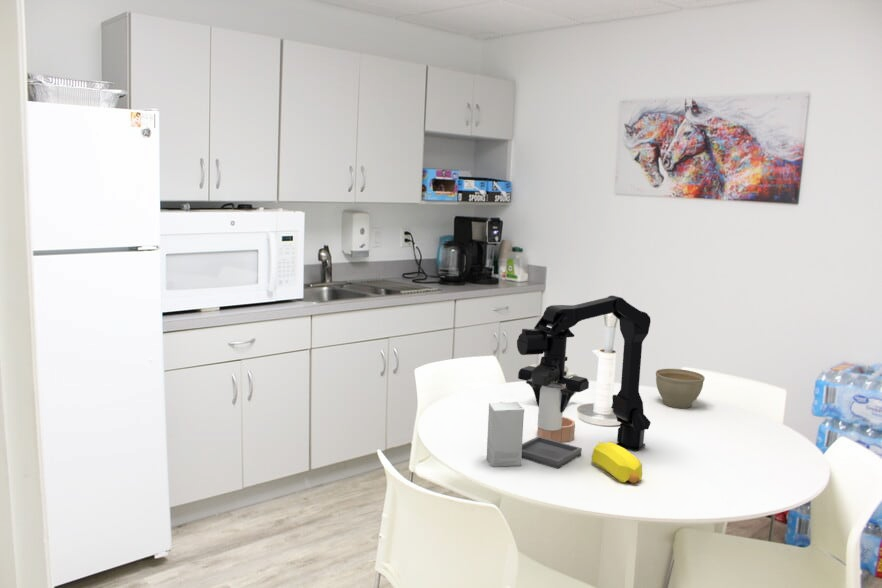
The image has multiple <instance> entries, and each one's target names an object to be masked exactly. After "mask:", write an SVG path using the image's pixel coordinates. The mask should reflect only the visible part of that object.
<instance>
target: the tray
mask: <svg viewBox="0 0 882 588" xmlns="http://www.w3.org/2000/svg"><path fill="white" fill-rule="evenodd" d="M580 456H582V447H578V446H574V445H572V444H568V443H565V442H557V441H554V440H550V439H546V438H543V437H539V436H536V437H534V438H532V439H530V440H528V441H527V440H526V442H524V443H523V442H522V458H521V459H524V460H528V461H530V462H533V463H537V464H540V465H544V466H548V467H550V468H553V469H560V468H561V467H563V466H565V465H566V464H567V465H568V463H570V462H572V461H574V460H575V459H577V458H579V457H580Z"/></svg>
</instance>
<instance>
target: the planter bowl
mask: <svg viewBox="0 0 882 588" xmlns="http://www.w3.org/2000/svg"><path fill="white" fill-rule="evenodd" d="M655 376H656V377H655V383H656V388H657V390H658V394H659V395H660V397H661V398H662V402H663V404H665V405H666V406H668V407H672V408H679V409H685V408H686V409H687V408H691V407H692V405H693V403H694V402H695V401H697V398H698V397H699V395H700V394H701V393H702V390H703V386H704V381H705V376H704V375H703V374H701V373H699V372H697V371H694V370H689V369H682V368H661V369H657V370H656V371H655Z"/></svg>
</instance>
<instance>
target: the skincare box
mask: <svg viewBox="0 0 882 588" xmlns="http://www.w3.org/2000/svg"><path fill="white" fill-rule="evenodd" d="M524 414H525V409H524V408H523V406H521V404H520V403H518V402H517V401H516V402H515V401H513V402H510V401H509V402H488V421H487V438H486V439H487V442H486V459H487V461H488V463H489V462H490V463H489V464H490V465H492V466H495V467H515V466H517V467H519V466H522V459H523V458H522V444H523V437H524V436H523V435H524V434H523V433H524V419H525V418H524V416H525V415H524ZM492 466H491V467H492Z"/></svg>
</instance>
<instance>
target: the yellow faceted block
mask: <svg viewBox="0 0 882 588" xmlns="http://www.w3.org/2000/svg"><path fill="white" fill-rule="evenodd" d="M590 461H592V463H593V464H594V465H595V466H597V467H598V468H600V469H602V470H604V471H606V472H607V473H609V474H610V475H611V476H612V477H613V478H615V479H616V480H617V481H618V482H620V483H626V482H627V481H628V482H630V483H631V484H632V483H633V484H635V483H637V482H640V481H641V480H642V478H643V463H642V462H641V460H639V458H637V457H636V456H635V455H633V453H632V452H630V451H628V450H627V448H624V447H621V446H619V445H617V444H616V443H614V442H612V441H607V442H599V443H597V445H596V446H595V447H594V448H593V450H592V453H591V458H590Z"/></svg>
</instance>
